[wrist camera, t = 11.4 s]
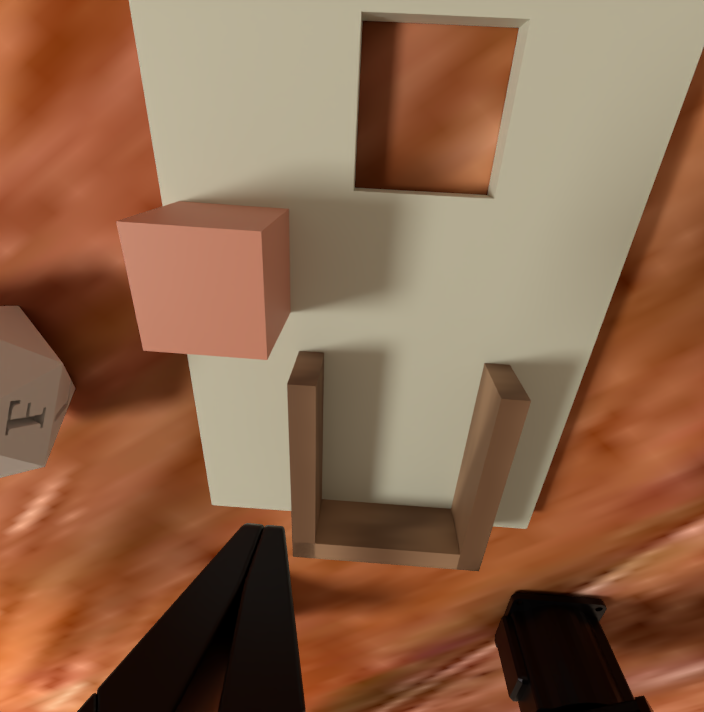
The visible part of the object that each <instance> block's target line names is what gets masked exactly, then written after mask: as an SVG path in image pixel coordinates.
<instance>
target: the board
mask: <svg viewBox="0 0 704 712" xmlns="http://www.w3.org/2000/svg"><path fill="white" fill-rule="evenodd" d="M129 4H130V10H131V16H132V22H133V28H134V34H135V41H136V47H137V53H138V59H139V65H140V71H141V77H142V83H143V89H144V95H145V101H146V107H147V113H148V119H149V125H150V132H151V138H152V144H153V150H154V156H155V162H156V168H157V174H158V180H159V186H160V192H161V198H162V204H163V206H165V205H168V204H171V203H174V202H178V201H183V202H197V203H212V204H227V205H241V206H256V207H270V208H285V209H289V244H290V309H291V313H290V315H289V317H288V319H287V321H286V323H285V325H284V327H283V329H282V331H281V333H280V335H279V337H278V339H277V341H276V343H275V345H274V347H273V349H272V351H271V353H270V355H269V358H268V360H260V359H247V358H234V357H220V356H207V355H194V354H187V356H188V362H189V368H190V374H191V380H192V386H193V392H194V399H195V405H196V411H197V417H198V423H199V429H200V435H201V441H202V447H203V453H204V459H205V465H206V471H207V477H208V483H209V490H210V496H211V502H212V505H219V506H232V507H245V508H259V509H272V510H285V511H291V485H290V456H289V427H288V398H287V383H288V380H289V378H290V375H291V372H292V369H293V367H294V364H295V361H296V358H297V355H298V353H299V351H308V352H323V353H324V395H323V459H322V499H327V500H340V501H354V502H367V503H381V504H394V505H407V506H421V507H434V508H447V509H451V507H452V502H453V498H454V494H455V489H456V485H457V480H458V476H459V472H460V467H461V463H462V459H463V454H464V450H465V446H466V441H467V437H468V433H469V428H470V424H471V419H472V415H473V411H474V406H475V402H476V398H477V393H478V389H479V385H480V380H481V376H482V372H483V367H484V363H490V364H505V365H510V366H511V367H512V369H513V371H514V372H515V374H516V376H517V378H518V379H519V381H520V383H521V384H522V386H523V388H524V390H525V391H526V393H527V395H528V396H529V398H530V400H531V403H530V407H529V410H528V413H527V416H526V420H525V423H524V426H523V429H522V433H521V436H520V439H519V442H518V446H517V449H516V452H515V455H514V459H513V462H512V465H511V468H510V472H509V475H508V478H507V481H506V485H505V488H504V491H503V494H502V498H501V501H500V504H499V507H498V511H497V514H496V517H495V520H494V524H493V526H497V527H510V528H523V529H527V527H528V524H529V521H530V519H531V516H532V513H533V510H534V508H535V505H536V502H537V499H538V497H539V494H540V491H541V489H542V486H543V483H544V480H545V478H546V475H547V472H548V470H549V467H550V464H551V461H552V459H553V456H554V453H555V450H556V448H557V445H558V442H559V440H560V437H561V434H562V431H563V429H564V426H565V423H566V421H567V418H568V415H569V412H570V410H571V407H572V404H573V401H574V399H575V396H576V393H577V391H578V388H579V385H580V382H581V380H582V377H583V374H584V371H585V369H586V366H587V363H588V361H589V358H590V355H591V352H592V350H593V347H594V344H595V342H596V339H597V336H598V333H599V331H600V328H601V325H602V322H603V320H604V317H605V314H606V312H607V309H608V306H609V303H610V301H611V298H612V295H613V293H614V290H615V287H616V284H617V282H618V279H619V276H620V273H621V271H622V268H623V265H624V263H625V260H626V257H627V254H628V252H629V249H630V246H631V243H632V241H633V238H634V235H635V233H636V230H637V227H638V224H639V222H640V219H641V216H642V214H643V211H644V208H645V205H646V203H647V200H648V197H649V194H650V192H651V189H652V186H653V184H654V181H655V178H656V175H657V173H658V170H659V167H660V165H661V162H662V159H663V156H664V154H665V151H666V148H667V145H668V143H669V140H670V137H671V135H672V132H673V129H674V126H675V124H676V121H677V118H678V115H679V113H680V110H681V107H682V105H683V102H684V99H685V96H686V94H687V91H688V88H689V86H690V83H691V80H692V77H693V75H694V72H695V69H696V66H697V64H698V61H699V58H700V56H701V53H702V50H703V47H704V0H129ZM362 21H381V22H403V23H425V24H447V25H469V26H491V27H513V28H519V31H518V36H517V41H516V47H515V52H514V57H513V62H512V68H511V73H510V78H509V83H508V89H507V94H506V99H505V104H504V110H503V115H502V120H501V125H500V131H499V136H498V141H497V146H496V152H495V157H494V162H493V167H492V173H491V178H490V183H489V188H488V194H487V195H478V194H460V193H442V192H424V191H406V190H388V189H370V188H355V173H356V152H357V130H358V108H359V86H360V65H361V43H362Z"/></svg>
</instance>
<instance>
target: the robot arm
mask: <svg viewBox="0 0 704 712" xmlns="http://www.w3.org/2000/svg"><path fill="white" fill-rule="evenodd" d="M605 611H606V606H605V604H604V602H603V601H602V600H599V599H588V598H576V597H563V596H551V595H538V594H526V593H516V594H513V595H512V596H511V598H510V601H509V603H508V606H507V609H506V611H505V614H504V616H503V617H502V618H501V621H500V624H499V626H498V629H497V632H496V634H495V644H496V647H497V648H498V651H499V656H500V660H501V664H502V668H503V672H504V677H505V681H506V685H507V689H508V694H509V697H510V698H511V699H512V700H513V701H518V703H519V707H520V711H521V712H654V711H653V710H652V708H651V706H650V705H649V703H648V701H647V700H646V698H645V697H644V696H639V697H635V699H634V697H633V695H632V692H631V690H630V688H629V686H628V684H627V682H626V679H625V677H624V675H623V673H622V671H621V668H620V666H619V664H618V662H617V660H616V658H615V655H614V653H613V651H612V649H611V647H610V645H609V642H608V640H607V638H606V636H605V634H604V631H603V629H602V627H601V625H600V623H599V621H600V619H601V618H602V616H603V614H604V613H605ZM77 712H305V701H304V692H303V684H302V675H301V667H300V658H299V649H298V641H297V632H296V623H295V615H294V606H293V597H292V589H291V580H290V572H289V563H288V554H287V546H286V537H285V530H284V527H282V526H274V525H266V526H265V527H264V526H263V525H261V524H251V523H246V524H244V525H243V526H242V527H241V528H240V529H239V530H238V531H237V532H236V533H235V534H234V536H233V537H232V538H231V539H230V540H229V541H228V542H227V543H226V545H225V546H224V547H223V548H222V549H221V550H220V551H219V552H218V554H217V555H216V556H215V557H214V558H213V559H212V560H211V561H210V563H209V564H208V565H207V566H206V567H205V568H204V569H203V570H202V572H201V573H200V574H199V575H198V576H197V577H196V578H195V579H194V581H193V582H192V583H191V584H190V585H189V586H188V587H187V589H186V590H185V591H184V592H183V593H182V594H181V595H180V596H179V598H178V599H177V600H176V601H175V602H174V603H173V604H172V605H171V607H170V608H169V609H168V610H167V611H166V612H165V613H164V614H163V616H162V617H161V618H160V619H159V620H158V621H157V622H156V623H155V625H154V626H153V627H152V628H151V629H150V630H149V631H148V633H147V634H146V635H145V636H144V637H143V638H142V639H141V640H140V642H139V643H138V644H137V645H136V646H135V647H134V648H133V649H132V651H131V652H130V653H129V654H128V655H127V656H126V657H125V658H124V660H123V661H122V662H121V663H120V664H119V665H118V666H117V667H116V669H115V670H114V671H113V672H112V673H111V674H110V675H109V676H108V678H107V679H106V680H105V681H104V682H103V683H102V684H101V686H100V687H99V688H98V690H97V694H96V693H94V694H92V695H91V696H90V698H89V699H88V700H87V701H86V702H85V703H84V704H83V706H82V707H81V708H80V709H79V710H78V711H77Z"/></svg>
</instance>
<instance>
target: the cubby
mask: <svg viewBox="0 0 704 712" xmlns="http://www.w3.org/2000/svg"><path fill="white" fill-rule="evenodd" d="M323 395H324V353H323V352H308V351H299V353H298V355H297V358H296V361H295V364H294V367H293V369H292V372H291V375H290V378H289V380H288V383H287V398H288V427H289V456H290V485H291V514H292V543H293V557H305V558H317V559H330V560H343V561H356V562H368V563H381V564H394V565H407V566H419V567H432V568H445V569H458V570H470V571H479V569H480V566H481V563H482V559H483V556H484V553H485V550H486V546H487V543H488V540H489V537H490V533H491V530H492V527H493V524H494V520H495V517H496V514H497V511H498V507H499V504H500V501H501V498H502V494H503V491H504V488H505V485H506V481H507V478H508V475H509V472H510V468H511V465H512V462H513V459H514V455H515V452H516V449H517V446H518V442H519V439H520V436H521V433H522V429H523V426H524V423H525V420H526V416H527V413H528V410H529V407H530V403H531V400H530V398H529V396H528V395H527V393H526V391H525V390H524V388H523V386H522V384H521V383H520V381H519V379H518V378H517V376H516V374H515V372H514V371H513V369H512V367H511V366H510V365H505V364H490V363H484V367H483V372H482V376H481V380H480V385H479V389H478V393H477V398H476V402H475V406H474V411H473V415H472V419H471V424H470V428H469V433H468V437H467V441H466V446H465V450H464V454H463V459H462V463H461V467H460V472H459V476H458V480H457V485H456V489H455V494H454V498H453V502H452V507H451V509H447V508H434V507H421V506H407V505H394V504H381V503H367V502H354V501H340V500H327V499H322V459H323Z"/></svg>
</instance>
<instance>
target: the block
mask: <svg viewBox="0 0 704 712" xmlns="http://www.w3.org/2000/svg"><path fill="white" fill-rule="evenodd" d="M116 223H117V228H118V233H119V237H120V242H121V247H122V252H123V256H124V261H125V266H126V271H127V275H128V280H129V285H130V290H131V295H132V299H133V304H134V309H135V314H136V318H137V323H138V328H139V333H140V337H141V342H142V347H143V351H155V352H168V353H181V354H194V355H207V356H220V357H234V358H247V359H260V360H268V358H269V355H270V353H271V351H272V349H273V347H274V345H275V343H276V341H277V339H278V337H279V335H280V333H281V331H282V329H283V327H284V325H285V323H286V321H287V319H288V317H289V315H290V313H291V309H290V244H289V209H285V208H270V207H256V206H241V205H227V204H212V203H197V202H183V201H178V202H174V203H171V204H168V205H165V206H162V207H159V208H156V209H153V210H150V211H147V212H144V213H141V214H137V215H134V216H131V217H128V218H125V219H122V220H119V221H116Z"/></svg>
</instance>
